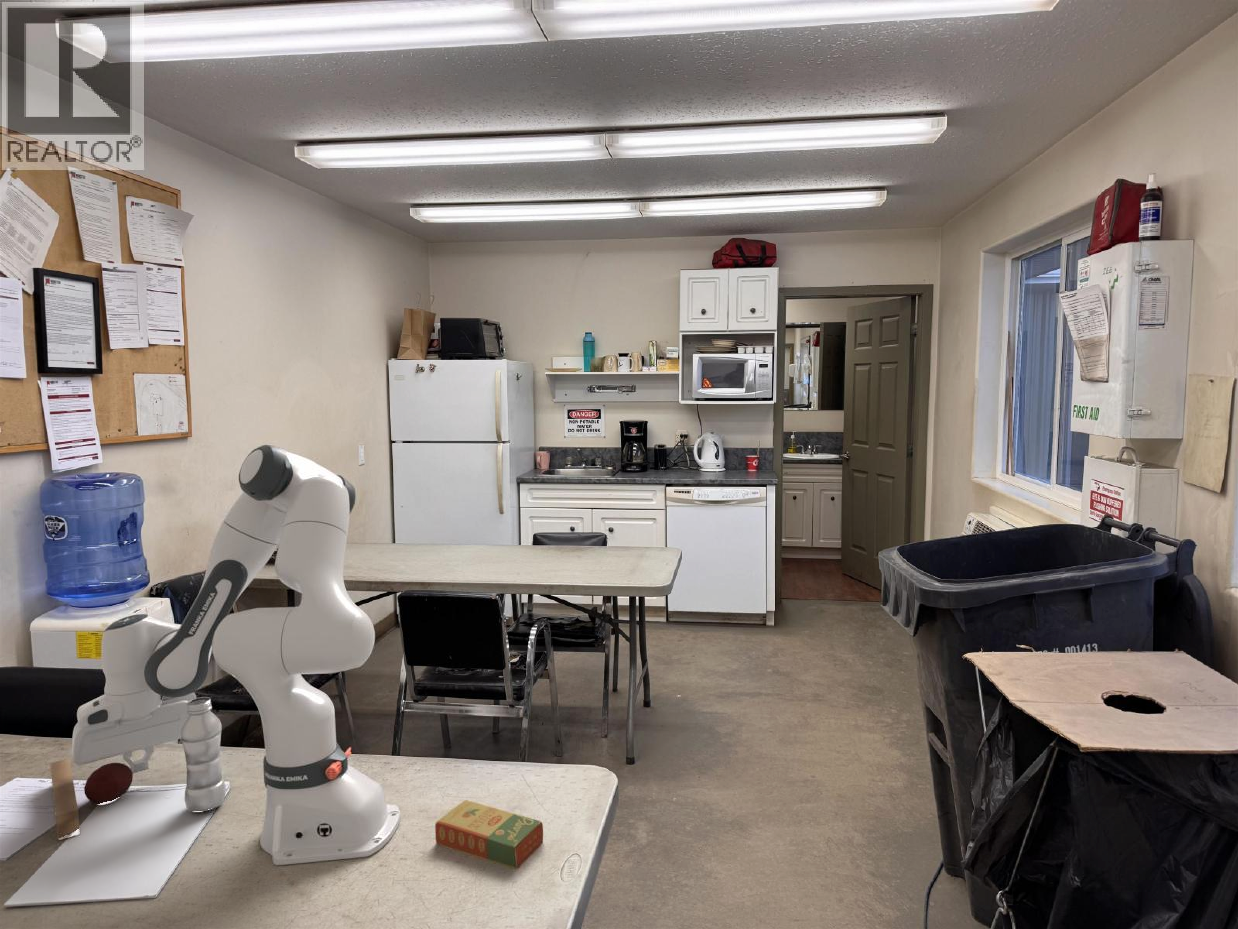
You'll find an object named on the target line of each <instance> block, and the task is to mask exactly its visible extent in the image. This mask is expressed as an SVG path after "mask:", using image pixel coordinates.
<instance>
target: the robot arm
mask: <svg viewBox="0 0 1238 929" xmlns="http://www.w3.org/2000/svg"><path fill="white" fill-rule="evenodd" d="M238 483H239V487H240V489H241V490H242V493H241V494H240V495H239V496H238V498H237V499H236V501H235V502H234V503H233V505H232V506H231V508H230V509H229V510H228V512H227V514H226V516H225V518H224V519H223V521H222V522H221V524H220V526H219V528H218V530H217V532H216V534H215V537H214V539H213V541H212V545H211V548H210V551H209V555H208V559H207V565H206V570H205V574H204V577H203V581H202V584H201V586H200V589H199V592H198V594H197V597H196V598H195V599H194V602H193V603H192V604H191V607H190V608H189V611H188V612H187V615H186V616H185V617H184V620H183V621H182V623H180V624H179V623H173V622H172V623H171V622H167V621H163V620H159V619H156V618H154V617H152V616H151V615H150V614H146V613H142V614H141V613H140V614H132V615H129V616H125V617H123V618H119V619H118V620H115V621H113V622H112V623H110V624H109V626H107V628H106V629H105V630H104V631H103V633H102V637H101V643H100V644H101V645H100V646H101V647H100V648H101V649H100V650H101V653H100V654H101V655H100V656H101V668H102V672H103V673H104V676H105V677H104V678H105V686H104V688H103V690H104V694H102V695H100V696H99V697H97V698H94V699H92V700H90V701H88V702H86V703H84V704H82V705H79V707H78V709H77V712H76V718H77V723H76V724H75V725H74V727H73V730H72V738H71V740H72V741H71V757H72V762H73V763H74V764H75V765H77V766H83V765H86V764H87V765H88V764H91V763H95V762H97V761H103V760H106V759H110V758H113V757H117V756H121V755H122V758H123V761H125V762H126V764H128V765H129V768H130V769H131V771H132V773H133V774H136V773H139V772H143V771H147V770H149V762H150V759H151V757H152V756H153V753H154V752H155V749H154V747H155V746H159V745H163V744H166V743H170V742H173V741H174V742H175V741H177V740H182V739H181V730H182V727H183V725H184V724H185V722H186V720H187V719H188V717H189V714H188V713H187V710H188V706H187V704H188V702H189V701H191V700H193V699H196V698H197V695H196V693H195V692H196V691H197V690H198V689H199V688H201V686H202V685H203V684H204V682H205V681H206V678H207V676H208V674H209V673H208V672H209V665H210V663H209V662H210V659H211V656H212V655H213V658H214V660H215V663H217V665H218V666H219V667H220V669H221V670H223V671H224V672H225V673H227V674H229V675H231V676H232V677H233V678H235V679H236V680H237V681H238V682H239V683H240V684H241V685H243V688H244V689H246V690H247V692H248V693H249V694H250V696H251V698H252V699H253V701H254V703H255V705H256V707H257V709H258V711H259V715H260V718H261V719H260V720H261V726H262V730H263V731H262V732H263V739H264V740H263V741H264V749H265V751H264V752H265V753H264V754H265V755H264V757H263V764H262V765H263V766H262V767H263V781H264V782H263V783H264V785H265V788H266V802H265V813H264V819H263V820H264V821H263V827H262V832H261V835H260V840H259V844H260V846H261V848H262V850H263V851H265V852H266V853H268V854H269V855H270V856H271V859H272V862H273V864H274V865H276V866H283V865H294V864H304V863H313V862H324V861H334V860H335V861H336V860H343V859H345V860H346V859H356V858H357V859H358V858H363V857H364V858H365V857H369V856H371V855H373V854H375V853H377V852H378V851H379V850H381V849H382V848H383V847H384V846H385V845H386V844H387V843H388V842H389V841H390V839H392V837H393V835H394V834H395V833H396V831H397V829H398V827H399V825H400V822H401V812H400V808H399V807H398V805H395V804H389V803H387V801H386V796H385V794H384V790H383V788H382V786H381V784H379V782H377V781H375V780H373V779H371V778H370V777H369V776H367V775H365V774H363V773H362V772H360V771H359V770H357V769H356V768H354V767H353V766H351V765H349V763H348V762H349V760H348V758H349V757H350V756H351V755H352V752H351V750H352V747H351V746H350V747H348V748H347V749H346V751H345V752H344V751H343V750H342V749H341V746H340V745H339V743H338V742H337V732H336V731H337V730H336V717H335V716H336V715H335V714H336V713H335V712H336V711H335V707H334V703H333V701H332V700H331V698H330V697H329V695H328V694H326V693H325V692H324V691H322V690H320V689H318V688H316V687H314V686H312V685H311V684H309V682H307V681H306V680H305V678H304V677H303V676H302V675H315V674H316V675H317V674H336V673H339V672H346V671H349V670H353V669H356V668H360V667H362V666H363V665H364V664H365V662H366V661H367V660H368V659H369V658H370V656H371V654H372V652H373V649H374V645H375V641H376V631H375V628H374V625H373V622H372V620H371V618H370V616H368V614H367V613H366V612H365V610H363V609H361V608H360V607H359V606H358V605H356V603H354V601H353V599H352V598H351V597H350V595H349V593H348V591H347V589H346V585H345V581H344V569H345V568H344V567H345V556H346V555H345V554H346V547H347V541H348V536H349V527H350V514H351V513H352V511H353V509H354V506H355V504H356V497H357V495H356V489H355V487H354V485H353V484H352V483H351V482H350V481H349V480H348V479H347V478H345V477H343V476H342V475H340V474H335V473H334V472H332V471H331V470H329V469H328V468H325V467H323V466H322V465H321V464H318V463H316V462H315V461H313V460H312V459H310V458H307V457H304V456H301V455H299V454H296V453H292V452H290V451H286V449H284V448H283V447H280V446H276V445H271V444H270V445H269V444H263V445H260V446H258V447H256V448H254V449H253V450H252V451H251V452H250V453H248V455H247V456H246V457H245V459H244V461H243V462H242V464H241V467H240V470H239V473H238ZM276 549H277V552H276V557H275V562H274V571H275V574H276V576H277V578H278V580H279V581H280V582H281V583H282V584H284V585H285V586H287V587H288V588H290V589H291V590H294V591H296V592H298V593H300V594H301V601H300V604H299V605H298V606H286V607H282V606H281V607H280V606H279V607H255V608H251V609H246V610H241V611H238V612H233V613H230V611H231V610H232V608H233V606H234V605H235V603H236V602H237V600H238V599H239V597H240V596H241V595H242V593H243V592H245V590H246V589H247V587H248V586H249V585H250V584H251V583H252V582H253V580H254V579H255V578H256V577H257V575H258V574H259V573H260V572H261V570H262V569H263V568H264V567H265V565H266V564H267V563H268V561H269V560H270V559H271V557H272V555H273V554H274V553H275V551H276ZM143 749H144V752H145V753H144V756H143V757H142V758H141V759H136V760H133V758H132V757H133V752H135V751H140V750H143Z"/></svg>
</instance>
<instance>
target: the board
mask: <svg viewBox="0 0 1238 929" xmlns="http://www.w3.org/2000/svg"><path fill="white" fill-rule="evenodd" d="M50 776H51V785H52V786H53V787H52V786H51V787H52V794H53V795H54V796H53V795H52V796H53V802H54V803H53V804H55V805H54V813H56V814H55V821H56V822H55V824H56V823H57V824H56V833H57V832H58V833H57V839H58V838H61V837H64V836H65V835H69V834H71V833H72V832H74V831H76V830H77V829H79V828H80V829H81V827H80V820H79V819H80V818H79V817H80V816H79V809H78V802H77V796H76V790H75V783H74V778H73V770H72V766H71V760H70V758H65V759H62V760H61V759H60V760H58V761H54V762H50Z"/></svg>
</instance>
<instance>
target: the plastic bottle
mask: <svg viewBox="0 0 1238 929" xmlns="http://www.w3.org/2000/svg"><path fill="white" fill-rule="evenodd" d="M187 706H188V710H187V713H188V714H189V717H188V719H187V720H186V722H185V724H184V725H183V727H182V730H181V739H180V740H181V743H182V747H183V752H184V756H185V757H184V758H185V764H186V783H185V784H186V786H185V791H184V802H185V803H184V804H185V806H186V809H188V811H190V812H191V811H206V810H208V809H211V808H214V809H216V808H218V807H220V805H222V803H223V801H224V800H225V797H226V791H227V788H226V783H225V779H224V777H223V773H222V765H221V737H222V723H221V720H220V719H219V718H218V717H217V715H216V714H215V713H213V712H212V711H211V710H213V706H212V701H211V698H210V696H209V697H208V696H207V697H206V696H201V697H196V699H193V700H191V701H189V702H188V704H187ZM215 807H216V808H215ZM206 812H207V811H206Z"/></svg>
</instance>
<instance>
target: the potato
mask: <svg viewBox="0 0 1238 929" xmlns="http://www.w3.org/2000/svg"><path fill="white" fill-rule="evenodd" d="M133 774H134V773H132V771H131V768H130V766H128V765H127V764H125V763H121V762H109V763H106V764H103V765H101V766H100V767H98V768H96V769H95V770H93V771H92V773H91V774H90V775H89V776H88V778H87V780H86V782H85V785H84V788H83V789H84V795H85V797H86V799H88V801H89V802H91V803H92V804H93V805H95V804H100V803H103V802H107V801H112V800H114V799H116V798H118V797H120V798H122V797H123V796H124V795H125V794H126V793H127V791H129V789H130V787H131V785H132V783H133V776H134V775H133ZM123 794H124V795H123Z"/></svg>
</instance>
